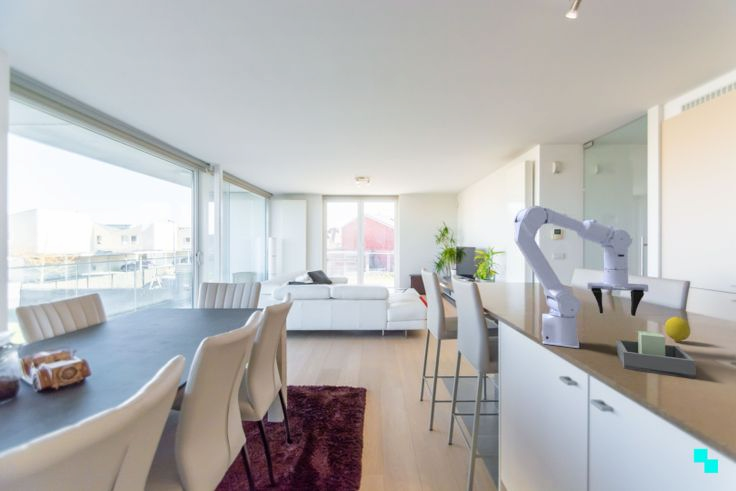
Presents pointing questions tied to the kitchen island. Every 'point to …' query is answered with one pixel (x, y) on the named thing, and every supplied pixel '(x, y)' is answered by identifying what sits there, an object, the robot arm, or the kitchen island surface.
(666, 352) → the bin
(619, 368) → the kitchen island surface
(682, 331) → the lemon
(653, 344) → the block
